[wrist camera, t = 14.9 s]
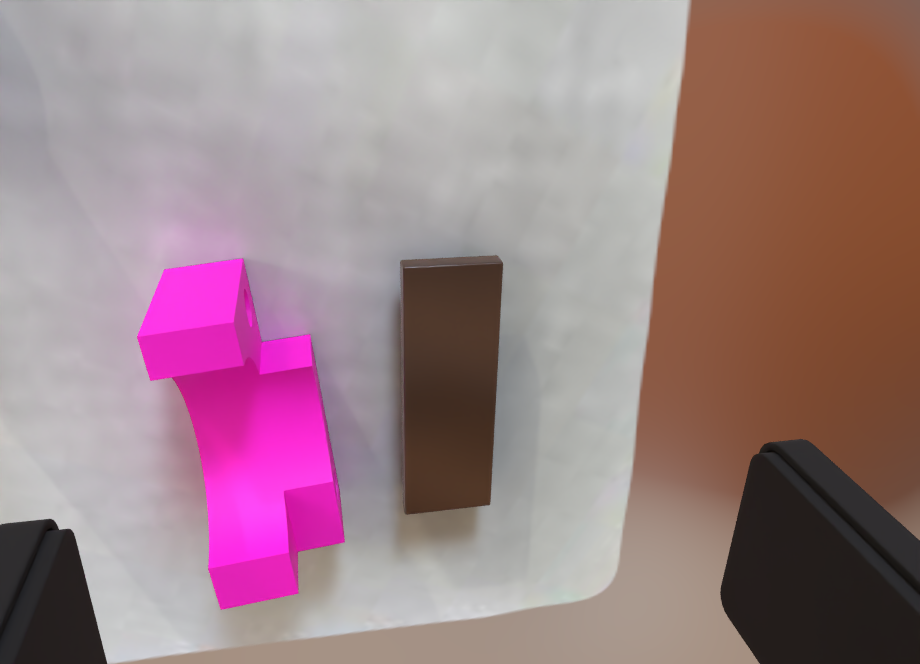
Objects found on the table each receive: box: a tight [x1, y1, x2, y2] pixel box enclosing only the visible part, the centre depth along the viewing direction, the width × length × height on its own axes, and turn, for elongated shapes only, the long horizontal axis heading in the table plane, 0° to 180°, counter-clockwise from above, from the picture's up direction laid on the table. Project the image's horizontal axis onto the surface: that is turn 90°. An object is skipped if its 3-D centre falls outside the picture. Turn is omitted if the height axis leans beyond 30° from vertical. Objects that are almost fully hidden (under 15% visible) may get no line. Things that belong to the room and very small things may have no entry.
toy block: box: [137, 258, 345, 610], centre depth 37 cm, size 15×6×8 cm, turn 5°
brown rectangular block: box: [400, 256, 503, 514], centre depth 41 cm, size 15×5×3 cm, turn 179°
